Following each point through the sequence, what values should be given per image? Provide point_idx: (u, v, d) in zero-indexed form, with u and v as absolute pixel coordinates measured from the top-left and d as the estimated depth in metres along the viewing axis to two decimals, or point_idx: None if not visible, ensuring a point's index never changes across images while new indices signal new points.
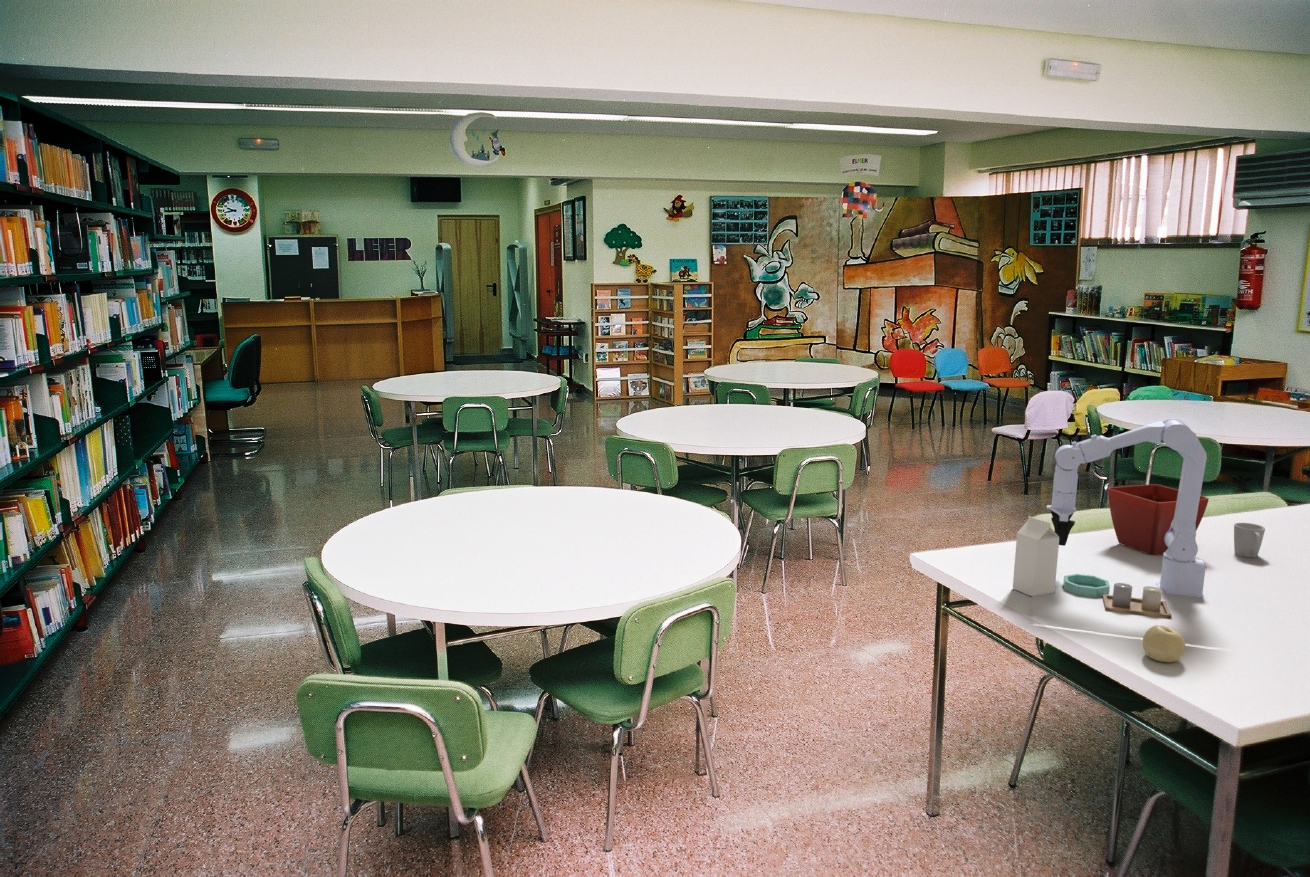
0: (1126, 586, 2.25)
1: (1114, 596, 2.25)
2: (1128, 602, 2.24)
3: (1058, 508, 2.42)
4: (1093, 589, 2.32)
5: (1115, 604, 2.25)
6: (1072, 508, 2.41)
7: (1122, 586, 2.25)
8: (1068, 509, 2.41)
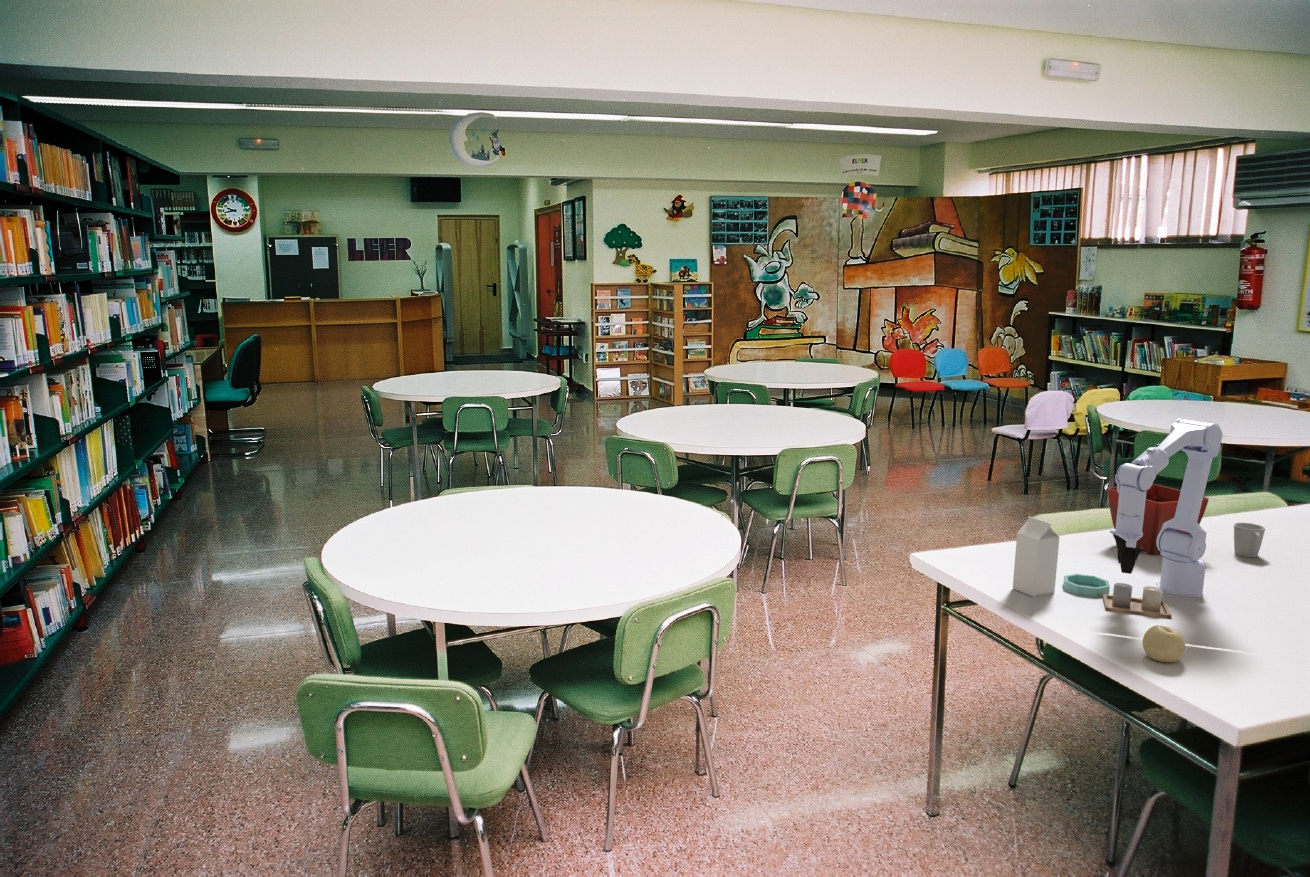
0: (1126, 586, 2.25)
1: (1114, 596, 2.25)
2: (1128, 602, 2.24)
3: (1124, 532, 2.21)
4: (1093, 589, 2.32)
5: (1115, 604, 2.25)
6: (1139, 533, 2.20)
7: (1122, 586, 2.25)
8: (1135, 534, 2.20)
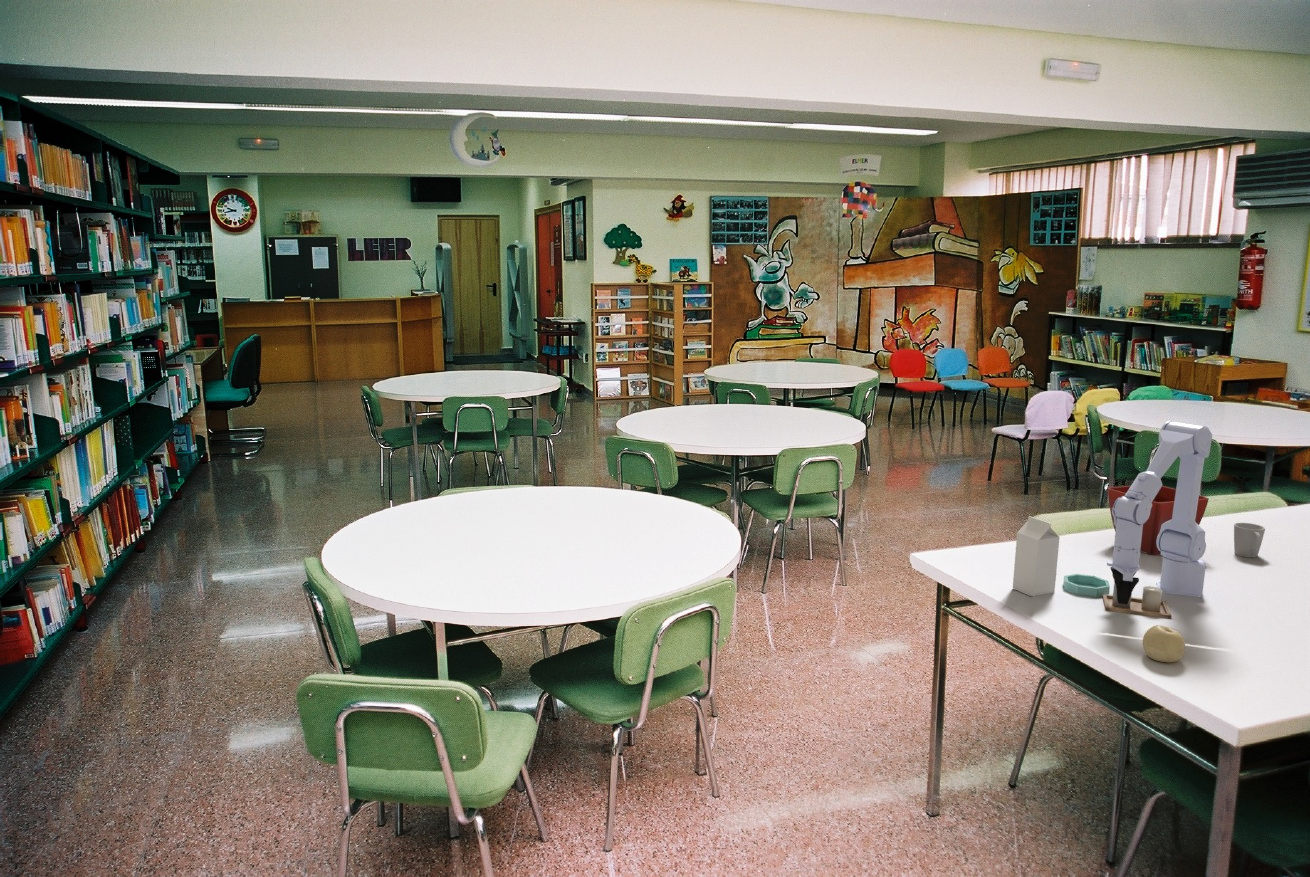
0: None
1: (1114, 596, 2.25)
2: (1128, 602, 2.24)
3: (1120, 565, 2.22)
4: (1093, 589, 2.32)
5: (1115, 604, 2.25)
6: (1136, 565, 2.21)
7: None
8: (1131, 567, 2.21)
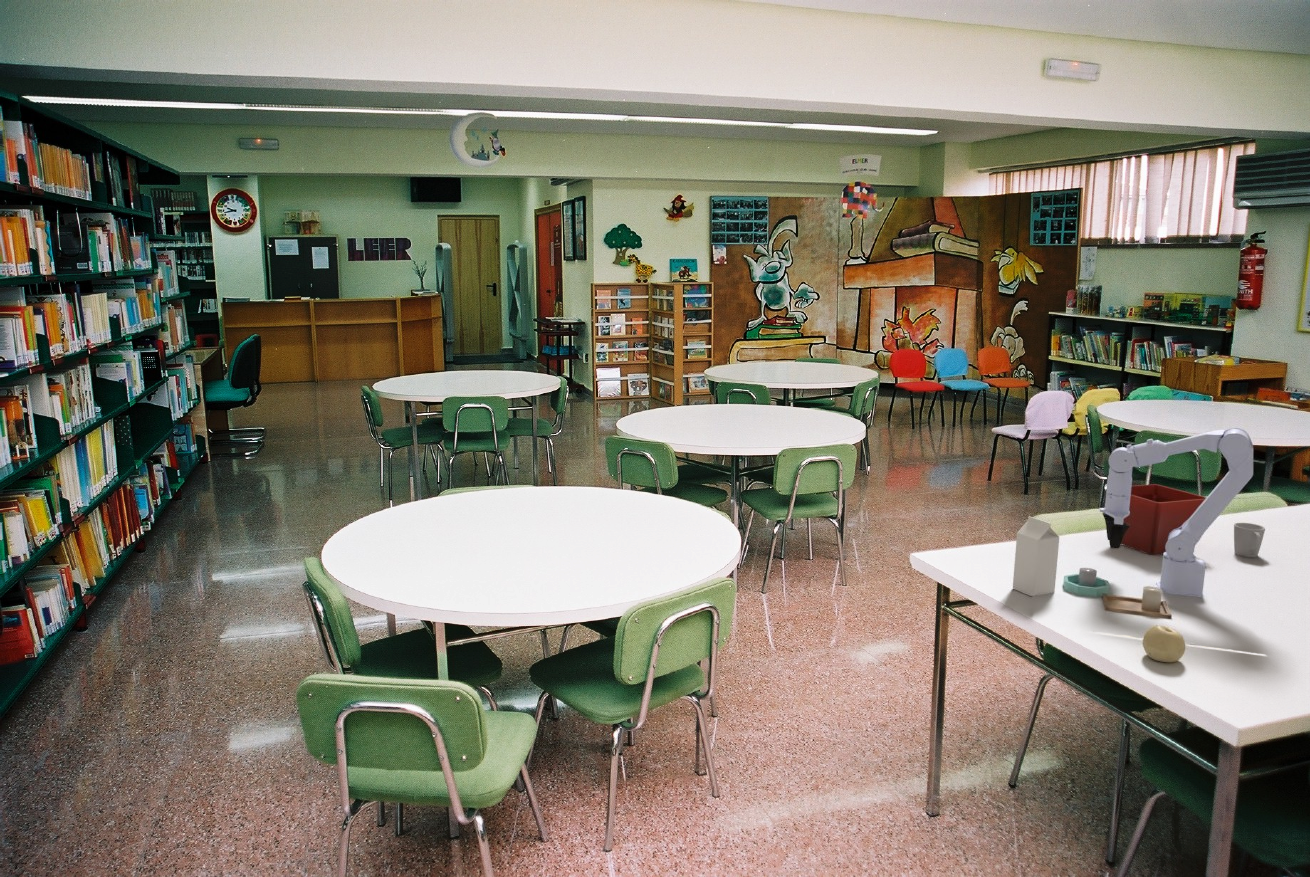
0: (1091, 571, 2.36)
1: (1079, 580, 2.37)
2: (1091, 586, 2.35)
3: (1112, 511, 2.40)
4: (1093, 589, 2.32)
5: None
6: (1126, 511, 2.39)
7: (1087, 570, 2.36)
8: (1122, 512, 2.39)
